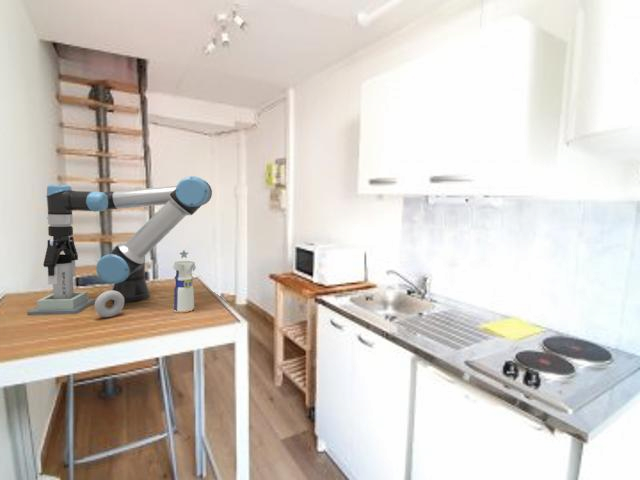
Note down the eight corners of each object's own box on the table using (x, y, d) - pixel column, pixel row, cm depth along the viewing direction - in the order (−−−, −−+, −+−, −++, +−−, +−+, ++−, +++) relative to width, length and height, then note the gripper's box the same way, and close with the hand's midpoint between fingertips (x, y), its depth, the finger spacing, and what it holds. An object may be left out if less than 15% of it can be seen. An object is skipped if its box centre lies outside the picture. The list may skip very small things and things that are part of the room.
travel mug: (59, 302, 137) (57, 253, 135) (77, 302, 137) (75, 253, 135) (48, 307, 130) (46, 255, 128) (67, 307, 131) (64, 255, 129)
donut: (96, 321, 121) (96, 293, 120) (92, 319, 123) (92, 292, 122) (126, 314, 129) (126, 288, 128) (122, 312, 131) (121, 287, 130)
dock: (95, 301, 143) (95, 290, 143) (76, 313, 128) (76, 301, 127) (51, 302, 140) (51, 291, 139) (27, 314, 124) (26, 302, 124)
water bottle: (199, 310, 137) (200, 248, 135) (179, 314, 131) (178, 250, 128) (190, 305, 143) (190, 246, 140) (169, 309, 137) (169, 247, 134)
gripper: (66, 223, 142) (68, 273, 144) (29, 227, 118) (32, 287, 120) (86, 223, 143) (88, 273, 146) (53, 228, 119) (56, 287, 121)
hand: (62, 280), depth 133 cm, fingers open, 13 cm apart
